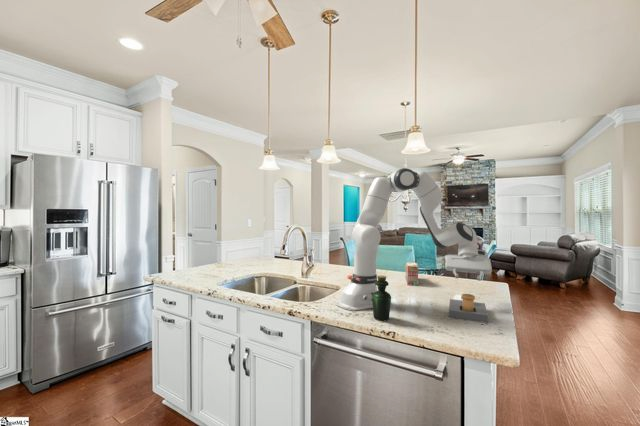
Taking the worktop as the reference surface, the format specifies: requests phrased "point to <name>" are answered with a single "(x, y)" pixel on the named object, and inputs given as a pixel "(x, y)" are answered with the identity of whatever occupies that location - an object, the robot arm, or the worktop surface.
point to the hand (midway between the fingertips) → (467, 278)
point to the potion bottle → (381, 300)
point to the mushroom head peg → (468, 302)
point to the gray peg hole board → (476, 315)
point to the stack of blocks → (411, 274)
